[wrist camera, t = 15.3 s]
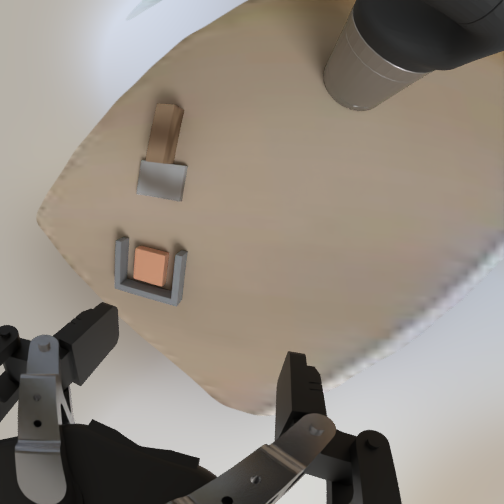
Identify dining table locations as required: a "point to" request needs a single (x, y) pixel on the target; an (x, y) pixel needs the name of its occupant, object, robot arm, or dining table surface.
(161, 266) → the tile
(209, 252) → the dining table surface
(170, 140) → the brown and grey scraper
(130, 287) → the bay
